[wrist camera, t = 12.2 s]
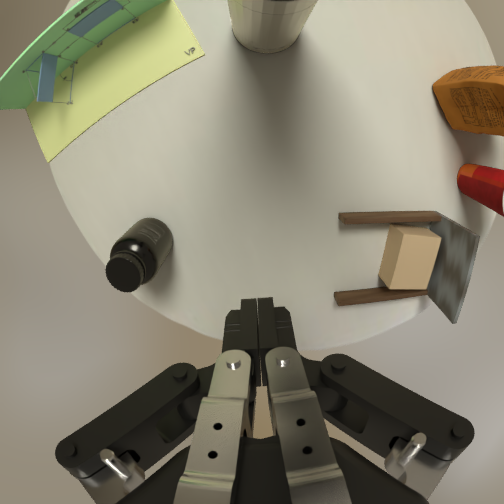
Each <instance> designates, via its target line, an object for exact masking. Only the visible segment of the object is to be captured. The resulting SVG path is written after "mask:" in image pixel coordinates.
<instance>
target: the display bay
mask: <svg viewBox="0 0 504 504" xmlns="http://www.w3.org/2000/svg"><path fill="white" fill-rule="evenodd" d="M339 219H340V220H341V221H342V222H343V223H344V224H366V223H393V222H428V221H431V224H430V231H432V232H433V233H435V234H436V235H438V236H439V237H441V242H440V246H439V250H438V253H437V257H436V260H435V263H434V267H433V270H432V273H431V276H430V280H429V283H428V286H427V289H389V288H388V287H379V288H370V289H361V290H351V291H340V292H334V297H335V299H336V301H337V304H338V306H344V305H353V304H362V303H371V302H379V301H387V300H394V299H401V298H408V297H415V296H422V295H428V296H429V297H430V298H431V300H432V301H433V302H434V303H435V304H436V305H437V306H438V307H439V309H441V311H442V312H443V313H444V314H445V315H446V317H447V318H448V319H449V320H450V321H451V323H452V324H455V323H457V320H458V317H459V314H460V311H461V308H462V305H463V302H464V298H465V295H466V292H467V288H468V284H469V281H470V277H471V273H472V269H473V265H474V261H475V257H476V252H477V248H478V243H479V238H480V236H478V235H477V234H475V233H473V232H472V231H470V230H468V229H467V228H465V227H463V226H461V225H460V224H458V223H456V222H455V221H453V220H451V219H449V218H447V217H446V216H444V215H442V214H440V213H438V212H437V211H388V212H350V213H339Z"/></svg>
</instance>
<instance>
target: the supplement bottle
mask: <svg viewBox="0 0 504 504" xmlns="http://www.w3.org/2000/svg"><path fill="white" fill-rule="evenodd" d="M171 247H172V235H171V232H170V230H169V228H168V227H167V226H166V225H165V224H164V223H163V222H162V221H160V220H158V219H155V218H144V219H141V220H139V221H138V222H137V223H136V224H134V225H133V226H132V227H131V228H130V229H129V230H128V231H127V232H126V233H125V234H124V235H123V236H122V237H121V238H120V239H118V240H117V241H116V243H115V244H114V245H113V247H112V249H111V253H110V260H109V262H108V263H107V265H106V276H107V279H108V280H109V282H110V283H111V285H112V286H114V288H116V289H117V290H120V291H123V292H132V291H135V290H136V289H137V288H138V287H139V286H140V285H143V284H146V283H148V282H149V281H151V280H152V279H153V278H154V277H155V275H156V274H157V272H158V270H159V268H160V267H161V265H162V263H163V262H164V260H165V258H166V257H167V255H168V253H169V251H170V249H171Z"/></svg>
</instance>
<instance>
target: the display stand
mask: <svg viewBox="0 0 504 504" xmlns="http://www.w3.org/2000/svg"><path fill="white" fill-rule="evenodd" d="M203 55H205V54H204V52H203V50H202V48H201V47H200V45H199V43H198V41H197V40H196V38H195V36H194V34H193V33H192V31H191V29H190V28H189V26H188V24H187V22H186V21H185V19H184V17H183V16H182V14H181V12H180V11H179V9H178V7H177V6H176V4H175V2H174V1H173V0H80V1H79V2H78V3H76V4H75V5H74V6H73V7H71V8H70V9H69V10H68V11H66V12H65V13H64V14H63V15H62V16H60V17H59V18H58V19H57V20H56V21H55V22H54V23H52V24H51V25H50V26H49V27H48V28H47V29H46V30H45V31H44V32H43V33H42V34H40V35H39V36H38V37H37V38H36V40H34V41H33V42H32V43H31V44H30V45H29V46H28V47H27V48H26V50H25V51H24V52H23V53H22V54H21V55H20V56H19V57H18V58H17V59H16V60H15V61H14V63H13V64H12V65H11V66H10V67H9V69H8V70H7V71H6V72H5V73H4V74H3V76H2V77H1V78H0V110H3V109H26V111H27V114H28V117H29V119H30V122H31V125H32V127H33V130H34V132H35V134H36V137H37V139H38V142H39V144H40V147H41V149H42V151H43V153H44V156H45V158H46V160H47V162H48V163H49V162H50V161H51V160H52V159H53V158H54V157H55V156H56V155H57V154H59V153H60V152H61V151H62V150H63V149H64V148H65V147H66V146H68V145H69V144H70V143H71V142H72V141H73V140H75V139H76V138H77V137H78V136H79V135H81V134H82V133H83V132H84V131H85V130H87V129H88V128H89V127H90V126H92V125H93V124H94V123H96V122H97V121H98V120H99V119H101V118H102V117H103V116H105V115H106V114H107V113H109V112H110V111H112V110H113V109H114V108H116V107H117V106H119V105H120V104H121V103H123V102H124V101H126V100H127V99H129V98H130V97H132V96H133V95H135V94H136V93H138V92H139V91H141V90H143V89H144V88H146V87H147V86H149V85H151V84H152V83H154V82H155V81H157V80H159V79H160V78H162V77H164V76H166V75H167V74H169V73H171V72H173V71H174V70H176V69H178V68H180V67H182V66H184V65H186V64H187V63H189V62H191V61H193V60H195V59H197V58H199V57H201V56H203Z"/></svg>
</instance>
